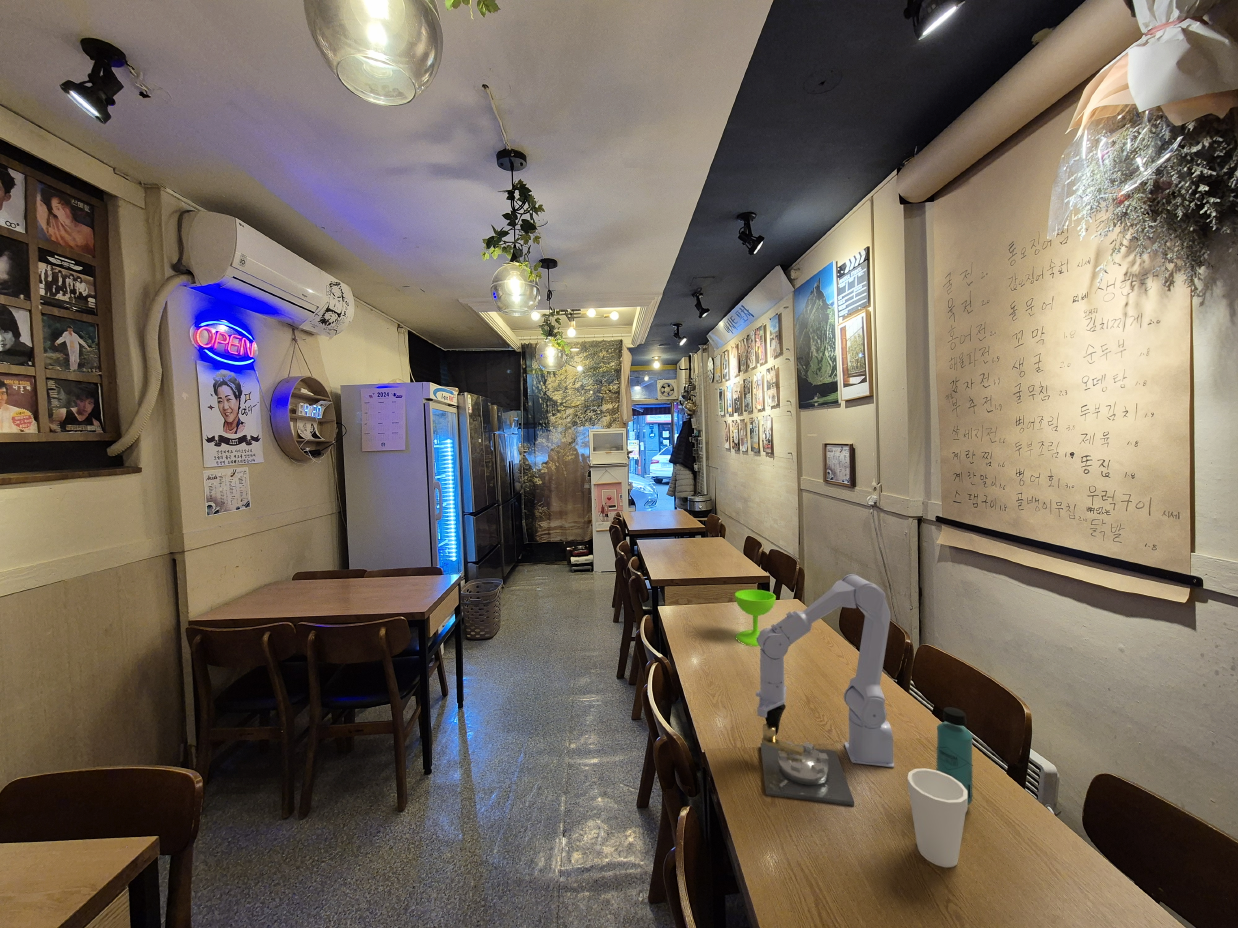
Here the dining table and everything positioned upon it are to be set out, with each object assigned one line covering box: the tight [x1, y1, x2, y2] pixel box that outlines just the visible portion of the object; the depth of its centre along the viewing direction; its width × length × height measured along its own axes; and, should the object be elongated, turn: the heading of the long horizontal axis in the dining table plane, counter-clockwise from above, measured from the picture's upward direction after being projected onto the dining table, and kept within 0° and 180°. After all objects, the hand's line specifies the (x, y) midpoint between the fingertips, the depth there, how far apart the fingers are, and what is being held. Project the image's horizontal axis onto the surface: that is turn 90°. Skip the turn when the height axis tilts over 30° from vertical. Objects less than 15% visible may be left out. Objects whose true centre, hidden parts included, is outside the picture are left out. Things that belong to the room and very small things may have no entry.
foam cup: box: [907, 767, 969, 868], centre depth 90 cm, size 10×9×13 cm
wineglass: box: [734, 589, 777, 647], centre depth 196 cm, size 16×16×18 cm
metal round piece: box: [761, 723, 829, 785], centre depth 115 cm, size 15×11×7 cm
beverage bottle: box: [935, 706, 974, 806], centre depth 103 cm, size 6×7×20 cm
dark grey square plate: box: [760, 742, 855, 807], centre depth 114 cm, size 18×18×1 cm
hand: (772, 732), depth 120 cm, fingers closed
